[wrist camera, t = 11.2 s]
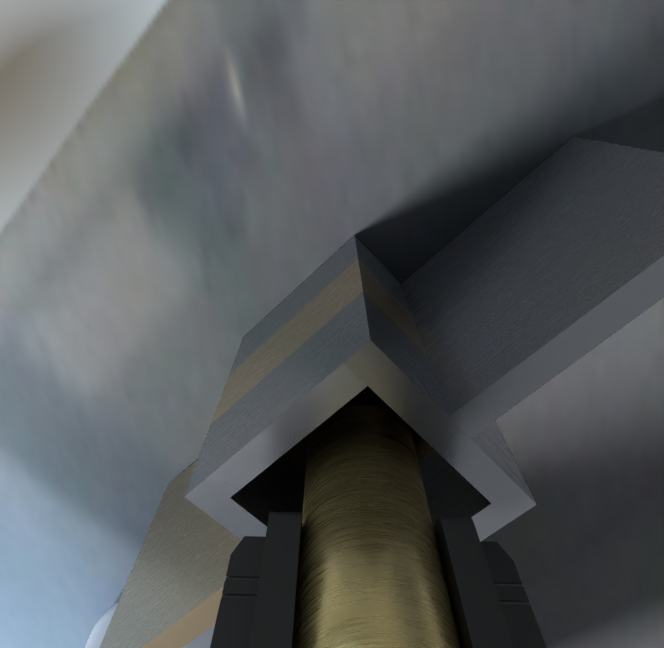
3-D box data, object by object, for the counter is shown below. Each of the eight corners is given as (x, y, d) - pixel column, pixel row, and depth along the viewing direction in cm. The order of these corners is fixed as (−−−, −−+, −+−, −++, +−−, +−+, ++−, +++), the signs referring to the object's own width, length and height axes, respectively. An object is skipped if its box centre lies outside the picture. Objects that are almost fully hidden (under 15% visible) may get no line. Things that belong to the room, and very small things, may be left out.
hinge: (527, 75, 19) (704, 58, 10) (625, 208, 20) (851, 296, 11) (121, 449, 25) (2, 650, 16) (224, 527, 26) (168, 747, 17)
